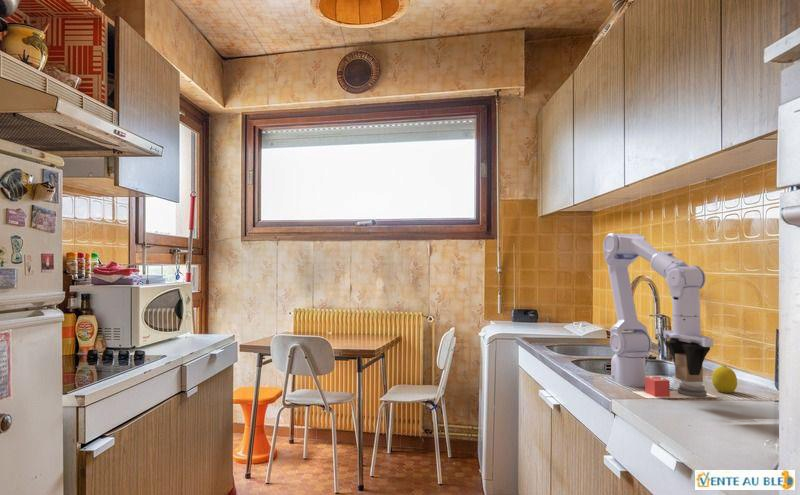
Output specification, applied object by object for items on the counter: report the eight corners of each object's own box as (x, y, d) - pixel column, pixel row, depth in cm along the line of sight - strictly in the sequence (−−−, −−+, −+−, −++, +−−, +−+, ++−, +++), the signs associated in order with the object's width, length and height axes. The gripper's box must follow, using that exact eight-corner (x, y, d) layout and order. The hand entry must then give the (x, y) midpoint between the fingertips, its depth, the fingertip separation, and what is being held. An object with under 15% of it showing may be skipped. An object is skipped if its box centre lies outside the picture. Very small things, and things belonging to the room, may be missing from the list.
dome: (674, 386, 124) (674, 368, 124) (694, 386, 124) (694, 368, 124) (689, 392, 118) (688, 372, 118) (710, 391, 119) (709, 372, 119)
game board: (631, 395, 123) (631, 387, 123) (699, 394, 125) (699, 386, 125) (673, 414, 107) (672, 405, 107) (750, 412, 108) (750, 404, 108)
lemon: (726, 398, 120) (725, 367, 121) (707, 393, 126) (706, 363, 126) (743, 397, 122) (742, 366, 122) (723, 392, 127) (722, 362, 127)
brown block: (675, 378, 113) (674, 353, 114) (690, 377, 114) (690, 353, 114) (686, 382, 109) (686, 356, 110) (702, 381, 110) (702, 356, 110)
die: (645, 392, 122) (645, 375, 122) (659, 392, 123) (659, 375, 123) (654, 396, 118) (654, 378, 118) (669, 396, 119) (669, 378, 119)
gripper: (651, 313, 119) (652, 366, 119) (691, 318, 105) (693, 379, 104) (677, 313, 120) (678, 366, 119) (721, 318, 105) (722, 379, 105)
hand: (687, 372), depth 112 cm, fingers closed on brown block, 4 cm apart
